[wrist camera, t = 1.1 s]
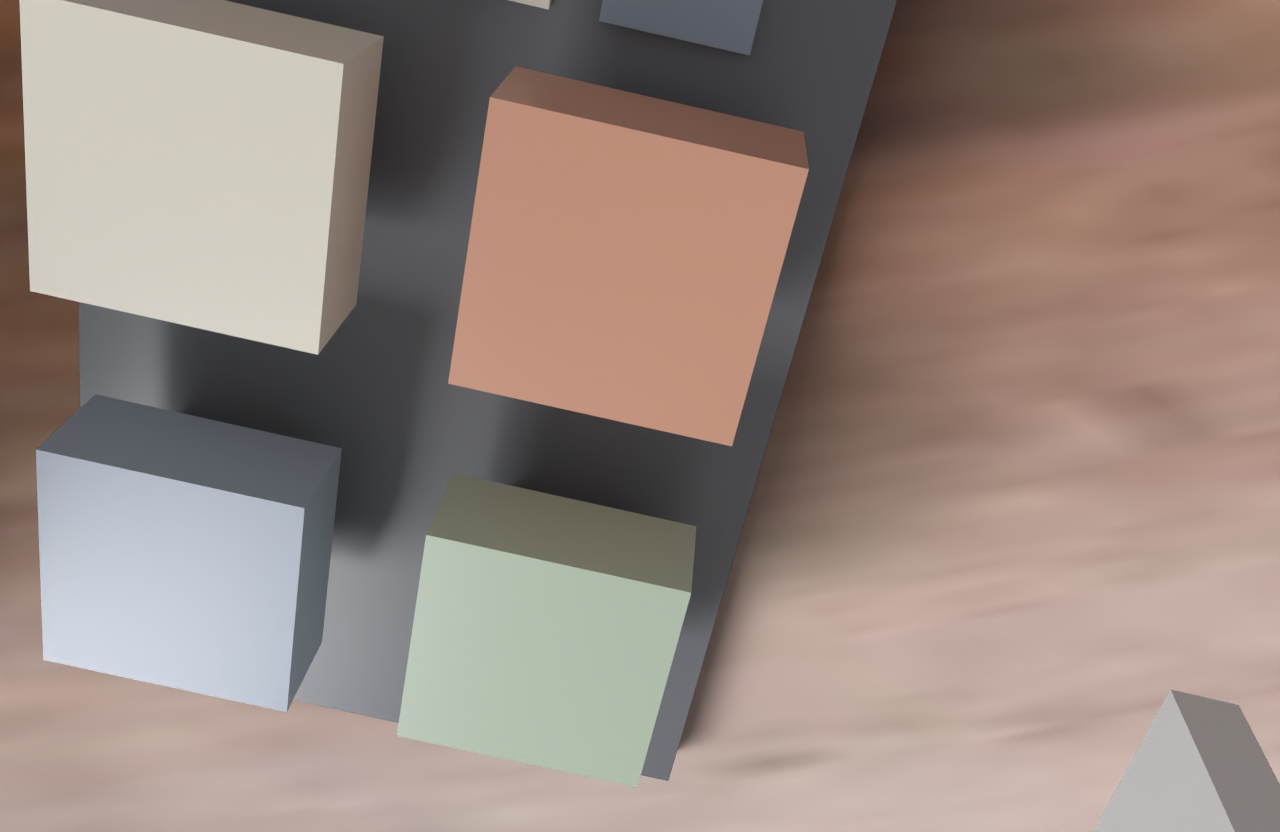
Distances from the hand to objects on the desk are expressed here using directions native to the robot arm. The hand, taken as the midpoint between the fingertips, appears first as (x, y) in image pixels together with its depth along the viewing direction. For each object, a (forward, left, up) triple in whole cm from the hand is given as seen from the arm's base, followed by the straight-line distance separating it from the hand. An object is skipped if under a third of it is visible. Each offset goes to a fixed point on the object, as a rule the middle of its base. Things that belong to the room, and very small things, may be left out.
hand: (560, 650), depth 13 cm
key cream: (-8, +1, -12) cm, 15 cm away
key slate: (-8, -9, -12) cm, 17 cm away
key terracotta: (0, 0, -12) cm, 12 cm away
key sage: (0, -9, -12) cm, 15 cm away
